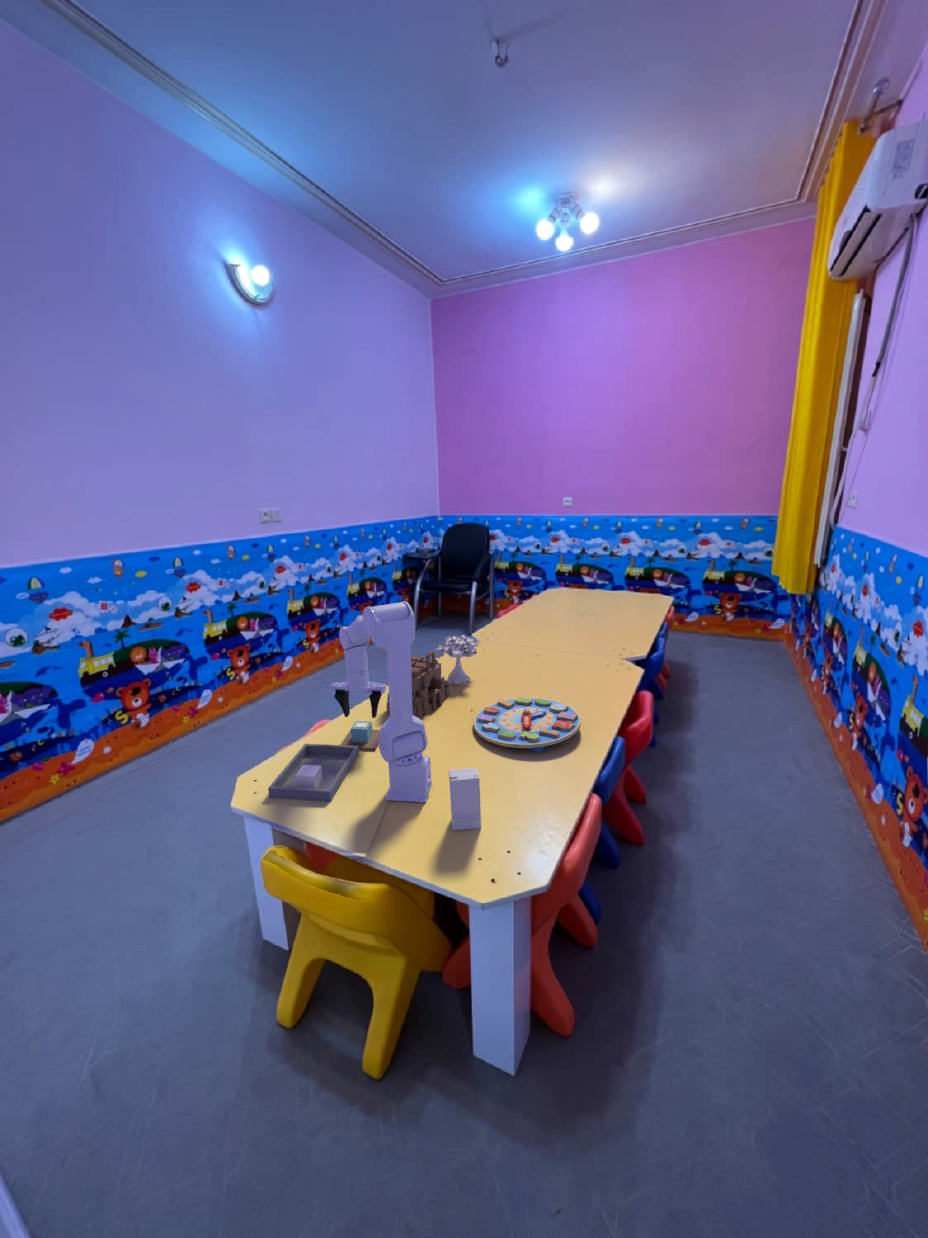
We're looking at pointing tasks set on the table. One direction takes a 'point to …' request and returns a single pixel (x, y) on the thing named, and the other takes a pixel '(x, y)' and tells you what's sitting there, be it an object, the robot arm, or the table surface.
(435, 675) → the brown wooden block structure
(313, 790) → the bin
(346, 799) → the table surface
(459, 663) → the tree
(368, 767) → the table surface
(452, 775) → the skincare box
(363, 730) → the labelled block
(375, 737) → the pad
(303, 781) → the plain block
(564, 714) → the shape sorting clock
